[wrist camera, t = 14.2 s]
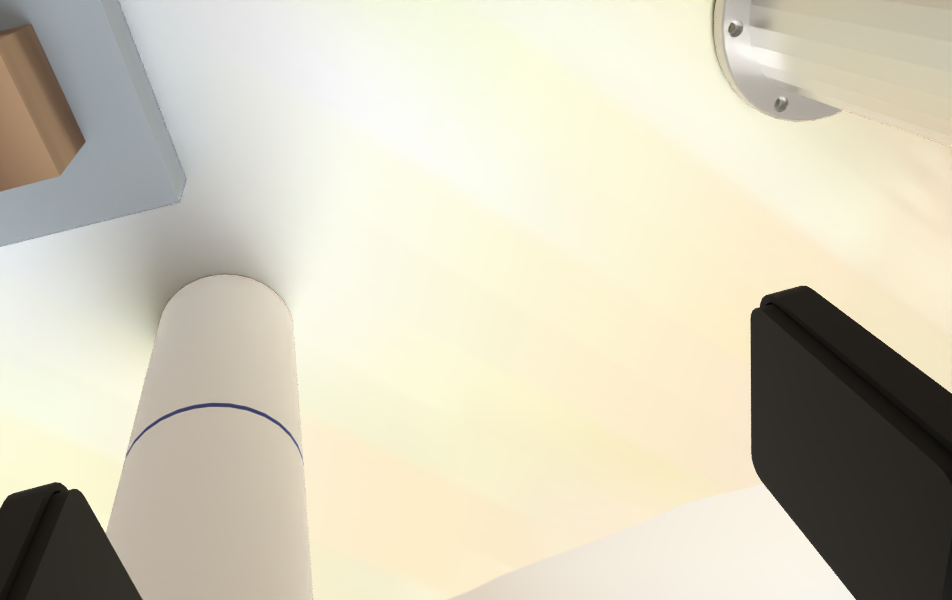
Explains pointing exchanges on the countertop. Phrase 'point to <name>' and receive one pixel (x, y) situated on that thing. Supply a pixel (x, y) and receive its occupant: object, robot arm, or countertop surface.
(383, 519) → the countertop surface
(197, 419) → the cylindrical container
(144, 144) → the grey base block
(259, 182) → the countertop surface
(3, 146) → the walnut cube
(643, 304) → the countertop surface
